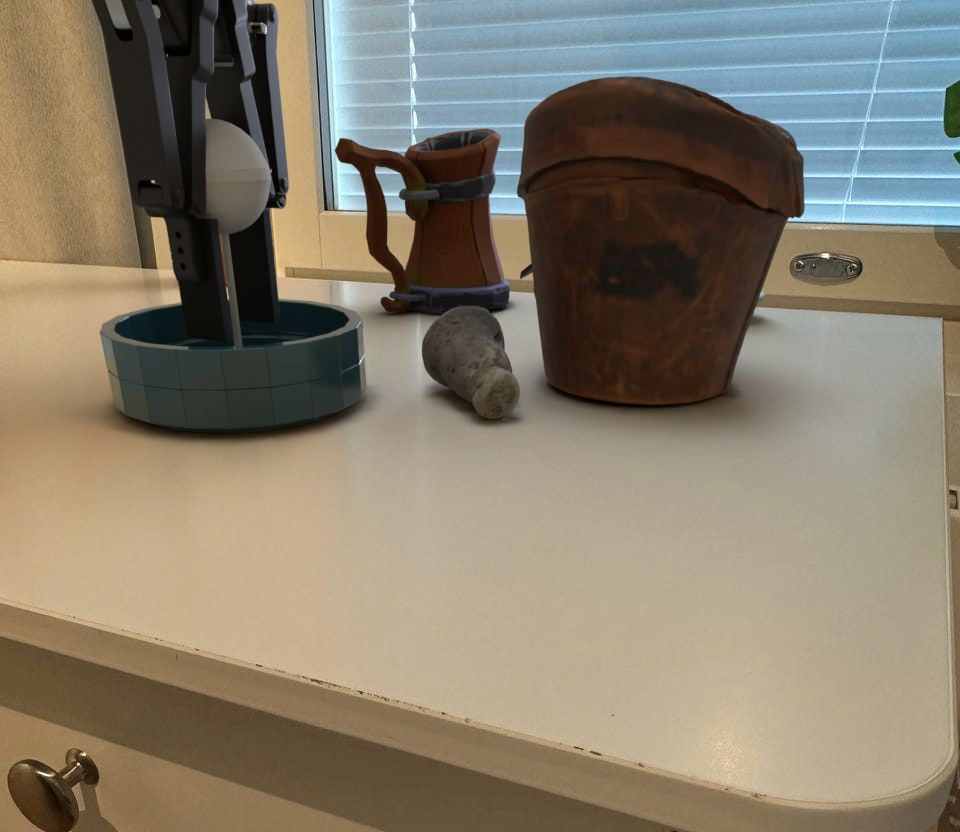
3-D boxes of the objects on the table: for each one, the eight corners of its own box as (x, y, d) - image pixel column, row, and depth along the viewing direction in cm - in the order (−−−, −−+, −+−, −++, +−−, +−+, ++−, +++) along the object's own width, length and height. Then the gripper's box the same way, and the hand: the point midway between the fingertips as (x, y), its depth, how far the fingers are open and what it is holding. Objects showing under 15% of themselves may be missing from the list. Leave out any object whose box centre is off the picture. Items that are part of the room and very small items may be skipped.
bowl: (61, 422, 53) (41, 336, 51) (210, 363, 66) (200, 292, 63) (290, 452, 49) (281, 360, 46) (403, 383, 62) (400, 307, 59)
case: (701, 346, 72) (736, 87, 63) (824, 417, 55) (895, 78, 46) (486, 353, 70) (490, 84, 60) (546, 430, 53) (563, 72, 43)
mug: (389, 330, 76) (380, 130, 69) (315, 310, 84) (300, 128, 76) (535, 305, 87) (542, 129, 79) (458, 290, 94) (457, 127, 86)
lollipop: (175, 390, 56) (130, 117, 49) (245, 372, 61) (213, 118, 53) (242, 407, 53) (205, 119, 46) (311, 386, 58) (287, 119, 50)
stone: (522, 438, 54) (579, 332, 56) (464, 380, 51) (526, 270, 52) (429, 441, 62) (482, 348, 63) (374, 391, 58) (430, 295, 60)
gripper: (113, -232, 35) (203, 368, 47) (326, -129, 49) (353, 308, 61) (-36, -214, 37) (87, 355, 49) (211, -121, 52) (259, 301, 63)
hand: (235, 328), depth 55 cm, fingers closed on lollipop, 5 cm apart
